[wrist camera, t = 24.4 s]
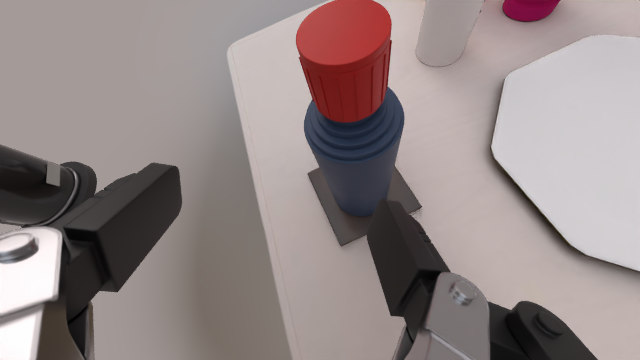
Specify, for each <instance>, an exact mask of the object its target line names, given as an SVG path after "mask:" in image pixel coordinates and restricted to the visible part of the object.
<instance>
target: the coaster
mask: <svg viewBox="0 0 640 360" xmlns="http://www.w3.org/2000/svg"><path fill="white" fill-rule="evenodd" d="M308 175H309V178H310V180H311V182H312V184H313V186H314V189H315V191H316V193H317V195H318V197H319V200H320V202H321V204H322V206H323V208H324V211H325V213H326V215H327V217H328V219H329V222H330V224H331V226H332V228H333V230H334V233H335V235H336V237H337V239H338V241H339V244H340V246H343V245H345V244H347V243H349V242H351V241H353V240H355V239H358V238H360V237H362V236H364V235H366V234H367V231H368V227H369V224H370V221H371V219H372V216H373V214H371V215H368V216H353V215H350V214H348V213H346V212H344V211H343V210H342V209H341V208H340V207H339V206H338V204H337V203H336V201H335V199H334V197H333V194H332V192H331V190H330V188H329V186H328V184H327V182H326V180H325V177H324V175H323V173H322V171H321V169H320V168H318V169H316V170H313V171H311V172H309V173H308ZM387 200H394V201H399V202H400V203H401V204H402V206H403V207H404V209H405V211H406V212H407V214H410V213H412V212H414V211H416V210H418V209H420V208H421V207H422V206H421V205H420V203H419V202H418V200H417V199H416V197H415V196H414V194H413V193H412V191H411V190H410V188H409V187H408V185H407V184H406V182H405V181H404V179H403V178H402V176H401V175H400V173H399V171H398V170H397V168H396V167H395V165H394V170H393V174H392V178H391V183H390V187H389V191H388V196H387Z"/></svg>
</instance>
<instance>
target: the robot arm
mask: <svg viewBox="0 0 640 360" xmlns="http://www.w3.org/2000/svg"><path fill="white" fill-rule="evenodd" d="M80 184H81V179H80V175H79V173H78V172H77V171H76V170H74V169H71V168H68V167H63V166H61V165H58V164H55V163H52V162H49V161H46V160H43V159H41V158H38V157H35V156H32V155H29V154H26V153H23V152H20V151H18V150H15V149H12V148H9V147H6V146H3V145H0V223H2V224H10V225H16V226H24V227H26V228H20V229H16V230H12V231H9V232H5V233H2V234H0V360H95V359H94V329H93V305H92V302H91V300H92V298H93V297H94V296H95V295H96V294H97V293H98V292H99V291H108V292H118V291H119V290H120V289H121V287H122V286H123V285H124V283H125V282H126V281H127V280H128V278H129V277H130V276H131V275H132V273H133V272H134V271H135V270H136V268H137V267H138V266H139V265H140V263H141V262H142V261H143V259H144V258H145V256H147V254H148V253H149V252H150V251H151V249H152V248H153V247H154V245H155V244H156V243H157V242H158V240H159V239H160V238H161V237H162V235H163V234H164V233H165V231H166V230H167V229H168V228H169V226H170V225H171V224H172V223H173V221H174V220H175V219H176V217H177V216H178V214H179V212H180V209H181V206H182V196H181V185H180V175H179V170H178V168H177V167H176V166H172V165H165V164H159V163H151V164H149V165H148V166H147V167H145V168H144V169H142V170H141V171H139V172H138V173H137V174H135V173H134V174H131V175H128V176H125V177H123V178H120V179H117V180H116V181H114V182H113V183H111V184H110V185H108V186H107V187H105V188H104V190H101V191H99V192H98V193H96V194H95V195H93V198H89V199H87V200H86V201H84V202H83V203H82V204H80V205H79V206H77V207H76V208H74V209H73V210H71V211H70V212H68V213H67V214H65V213H66V212H67V211H68V209H69V208H70V207H71V206H72V204H73V203H74V201H75V199H76V197H77V195H78V193H79V189H80ZM64 214H65V215H64ZM63 215H64V216H63ZM61 216H62V217H61ZM60 217H61V218H60ZM51 223H52V224H51ZM49 224H50V225H49ZM46 225H49V226H48V227H45V226H46ZM27 226H35V227H27ZM367 240H368V244H369V247H370V250H371V254H372V257H373V260H374V263H375V267H376V270H377V273H378V276H379V279H380V283H381V286H382V289H383V292H384V296H385V299H386V302H387V305H388V308H389V312H390V315H391V316H400V317H404V319H405V322H406V324H405V326H404V327H403V329H402V332H401V335H400V337H399V340H398V343H397V346H396V349H395V352H394V355H393V358H392V360H598V359H597V358H596V357H595V356H594V355H593V354H592V353H591V352H590V351H589V349H588V348H587V347H586V346H585V345H584V344H583V343H582V342H581V340H580V339H579V338H578V337H577V336H576V335H575V334H574V333H573V332H572V330H571V329H570V328H569V327H568V326H567V325H566V324H565V323H564V322H563V321H562V320H561V319H559V318H558V317H557V316H556V315H554V314H553V313H551V312H550V311H548V310H547V309H545V308H543V307H542V306H540V305H538V304H535V303H533V302H529V301H521V302H519V303H518V304H517V305H516V306H515V307H514V308H513V309H512V310H509V309H507V308H504V307H501V306H499V305H496V304H493V303H491V302H488V301H487V300H486V298H485V296H484V295H483V294H482V292H481V291H480V290H479V289H478V288H477V287H476V286H475V285H474V284H473V283H471V282H470V281H469V280H467V279H465V278H464V277H462V276H460V275H457V274H455V273H451V272H450V270H449V268H448V267H447V265H446V264H445V262H444V261H443V259H442V258H441V256H440V254H439V253H438V251H437V250H436V248H435V247H434V245H433V244H432V243H431V240H430V239H429V237H428V236H427V235H426V233H425V231H424V229H423V228H422V226H421V225H420V223H419V222H417V221H416V220H415V219H414V218H413V217H412V216H411V215H408V214H407V212H406V211H405V209H404V207H403V206H402V204H401V203H400V202H399V201H394V200H387V199H380V200H379V202H378V204H377V206H376V209H375V211H374V214H373V216H372V219H371V221H370V224H369V227H368V231H367Z"/></svg>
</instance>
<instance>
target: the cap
mask: <svg viewBox="0 0 640 360" xmlns="http://www.w3.org/2000/svg"><path fill="white" fill-rule="evenodd" d="M391 25H392V24H391V18H390V15H389V13H388V11H387V10H386V9H385V8H384V7H383V6H382V5H380V4H379V3H377V2H375V1H372V0H335V1H332V2H329V3H327V4H325V5H323V6H321V7H319V8H317V9H316V10H314V11H313V12H312V13H310V14H309V15H308V16H307V17H306V18H305V19H304V21H303V22H302V23H301V25H300V27H299V29H298V31H297V35H296V45H297V49H298V52H299V54H300V57H299V59H300V62H301V65H302V68H303V71H304V74H305V78H306V81H307V84H308V87H309V90H310V93H311V96H312V99H313V102H315V105H316V107H317V109H318V111H319V112H320V113H321V114H322V115H324V116H325V117H327V118H328V119H330V120H333V121H337V122H355V121H358V120H362V119H364V118H366V117H368V116H370V115H371V114H373V113H374V112H375V111H376V110H377V109H378V108H379V107H380V105H381V104H382V102H383V100H384V97H385V93H386V91H387V85H388V75H389V64H390V54H391V43H392V40H390V37H391Z"/></svg>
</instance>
